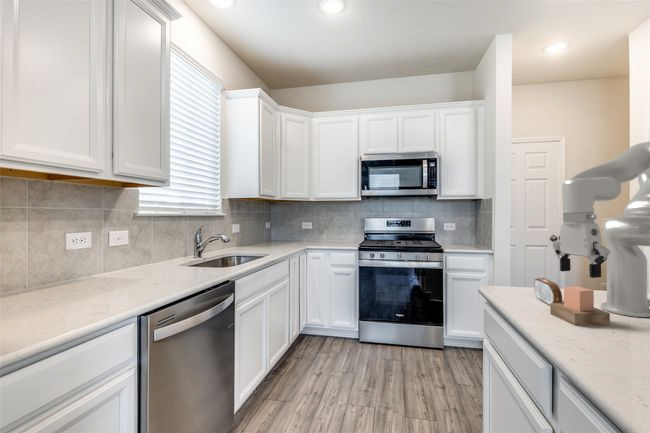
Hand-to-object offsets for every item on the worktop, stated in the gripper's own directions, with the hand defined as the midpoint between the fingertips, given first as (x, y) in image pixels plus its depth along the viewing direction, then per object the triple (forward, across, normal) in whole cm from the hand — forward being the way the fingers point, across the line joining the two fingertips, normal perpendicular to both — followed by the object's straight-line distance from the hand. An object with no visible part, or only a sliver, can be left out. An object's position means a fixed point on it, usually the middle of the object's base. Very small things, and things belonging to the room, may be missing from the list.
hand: (579, 274), depth 94 cm
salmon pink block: (+10, 0, +1) cm, 11 cm away
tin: (+14, +17, -4) cm, 23 cm away
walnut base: (+14, 0, +1) cm, 15 cm away
